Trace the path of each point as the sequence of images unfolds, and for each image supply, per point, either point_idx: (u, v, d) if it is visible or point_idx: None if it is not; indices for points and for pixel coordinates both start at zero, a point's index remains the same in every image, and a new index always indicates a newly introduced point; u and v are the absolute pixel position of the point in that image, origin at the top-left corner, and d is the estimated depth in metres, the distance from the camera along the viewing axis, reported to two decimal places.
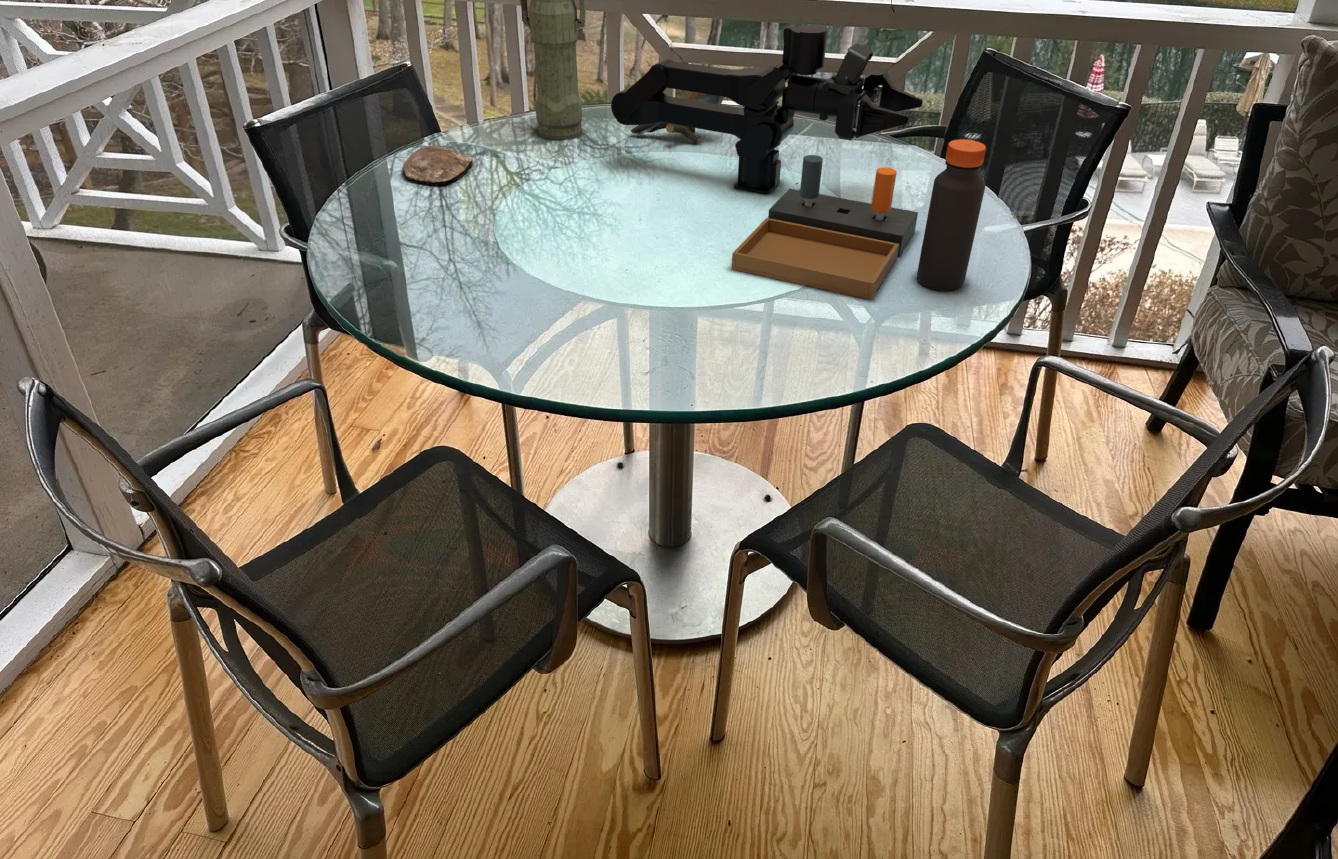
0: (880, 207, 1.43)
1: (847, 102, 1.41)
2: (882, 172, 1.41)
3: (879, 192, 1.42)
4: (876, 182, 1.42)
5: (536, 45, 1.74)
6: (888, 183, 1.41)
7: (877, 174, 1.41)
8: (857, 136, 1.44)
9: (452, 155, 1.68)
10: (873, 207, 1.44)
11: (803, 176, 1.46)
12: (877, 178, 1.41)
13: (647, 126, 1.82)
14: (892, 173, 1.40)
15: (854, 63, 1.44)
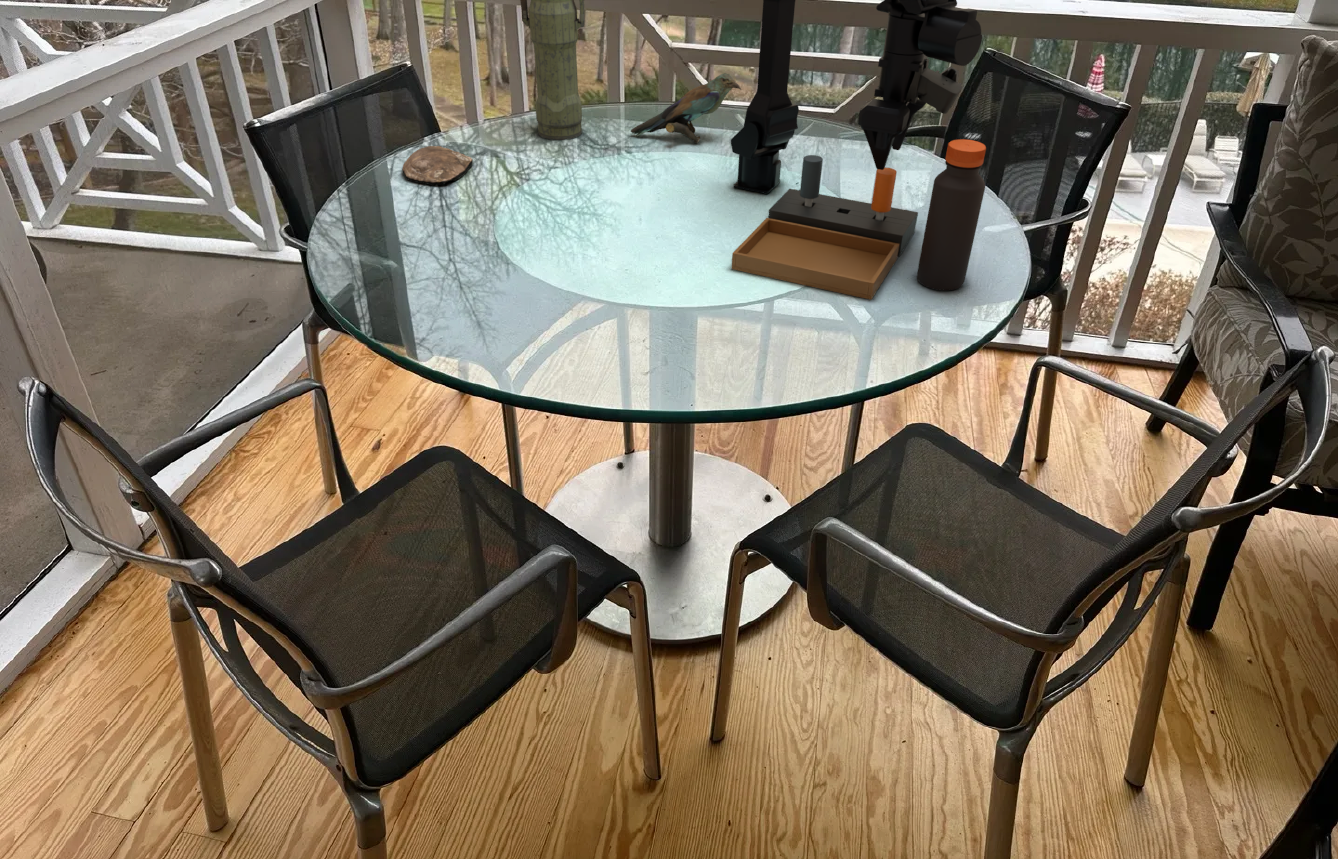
0: (880, 207, 1.43)
1: (898, 122, 1.27)
2: (882, 172, 1.41)
3: (879, 192, 1.42)
4: (876, 182, 1.42)
5: (536, 45, 1.74)
6: (888, 183, 1.41)
7: (877, 174, 1.41)
8: (862, 127, 1.31)
9: (452, 155, 1.68)
10: (873, 207, 1.44)
11: (803, 176, 1.46)
12: (877, 178, 1.41)
13: (647, 126, 1.82)
14: (892, 173, 1.40)
15: (940, 101, 1.30)
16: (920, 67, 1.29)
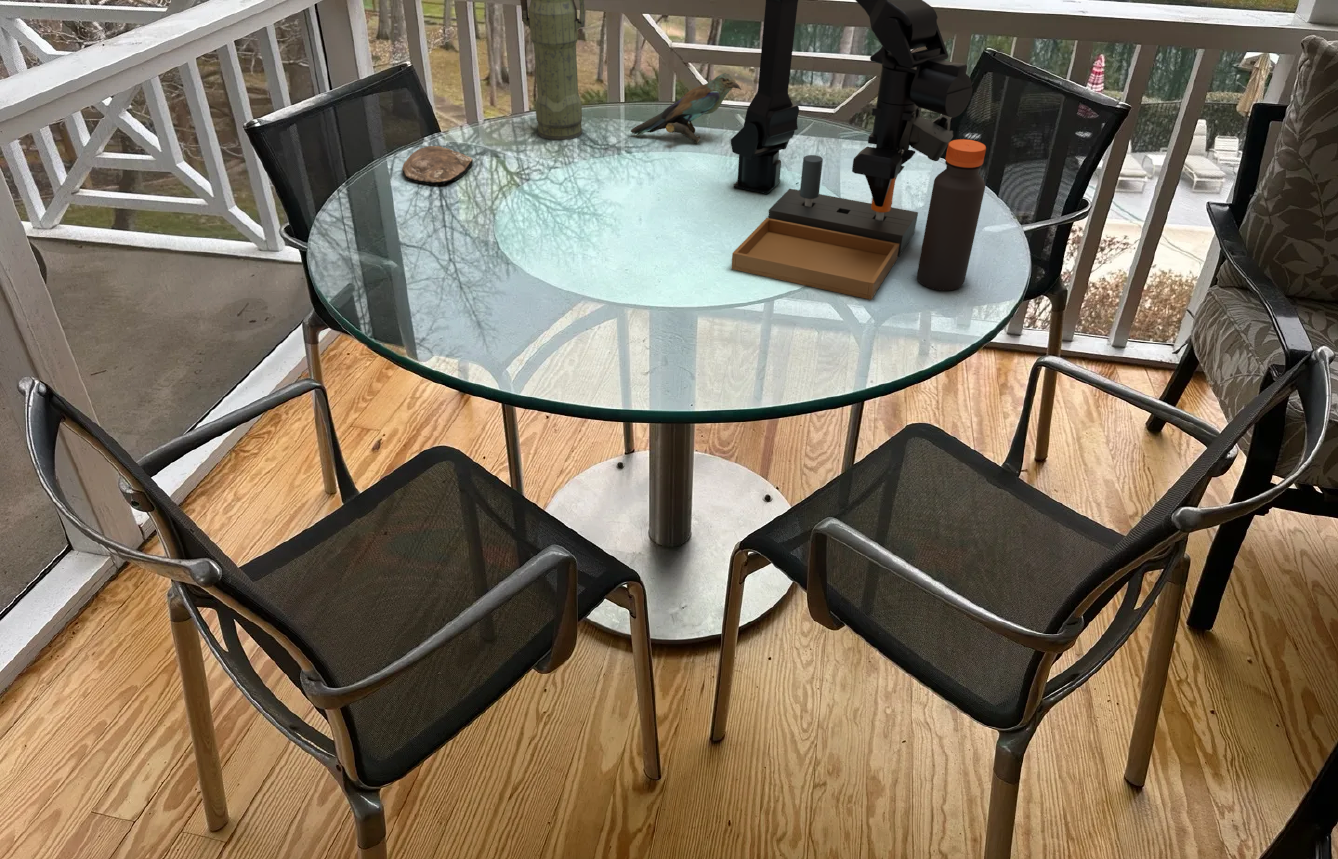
0: (880, 207, 1.43)
1: (891, 170, 1.31)
2: None
3: None
4: None
5: (536, 45, 1.74)
6: None
7: None
8: None
9: (452, 155, 1.68)
10: (873, 207, 1.44)
11: (803, 176, 1.46)
12: None
13: (647, 126, 1.82)
14: None
15: (931, 149, 1.34)
16: (912, 117, 1.33)
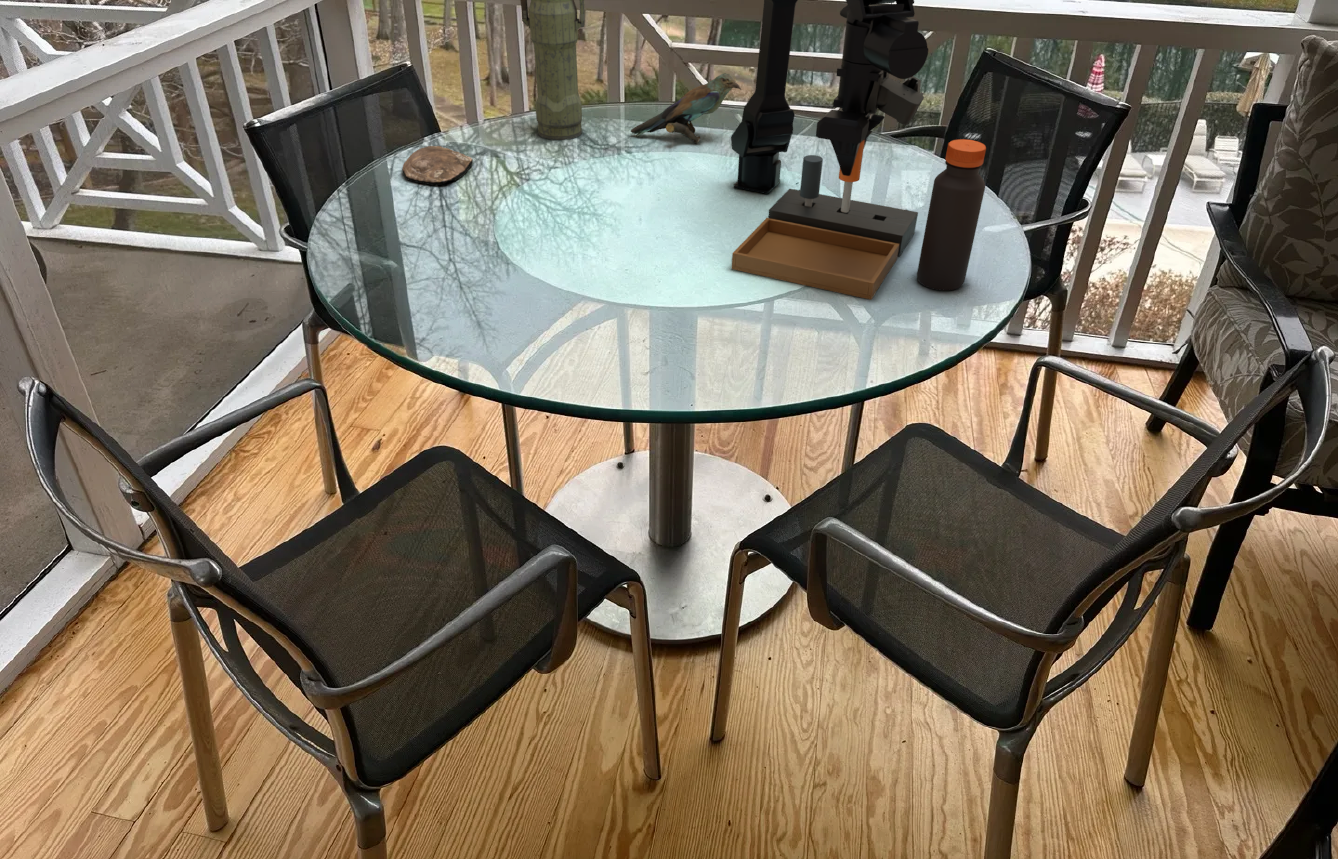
0: (848, 176, 1.34)
1: (857, 134, 1.22)
2: None
3: None
4: None
5: (536, 45, 1.74)
6: None
7: None
8: None
9: (452, 155, 1.68)
10: (840, 177, 1.35)
11: (803, 176, 1.46)
12: None
13: (647, 126, 1.82)
14: None
15: (900, 112, 1.25)
16: (879, 77, 1.24)
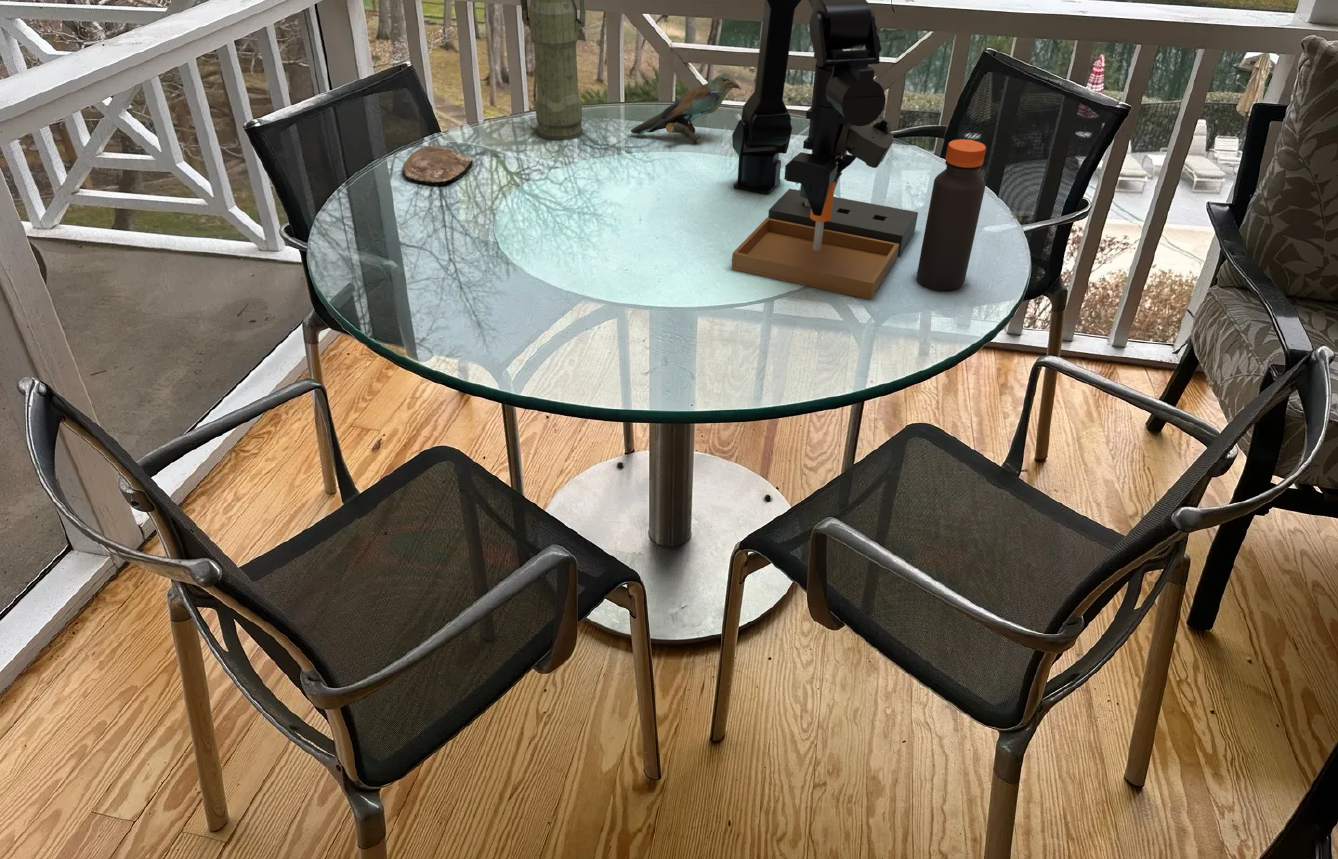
0: (819, 216, 1.34)
1: (825, 178, 1.22)
2: None
3: None
4: None
5: (536, 45, 1.74)
6: None
7: None
8: None
9: (452, 155, 1.68)
10: (812, 216, 1.35)
11: None
12: None
13: (647, 126, 1.82)
14: None
15: (869, 155, 1.25)
16: None
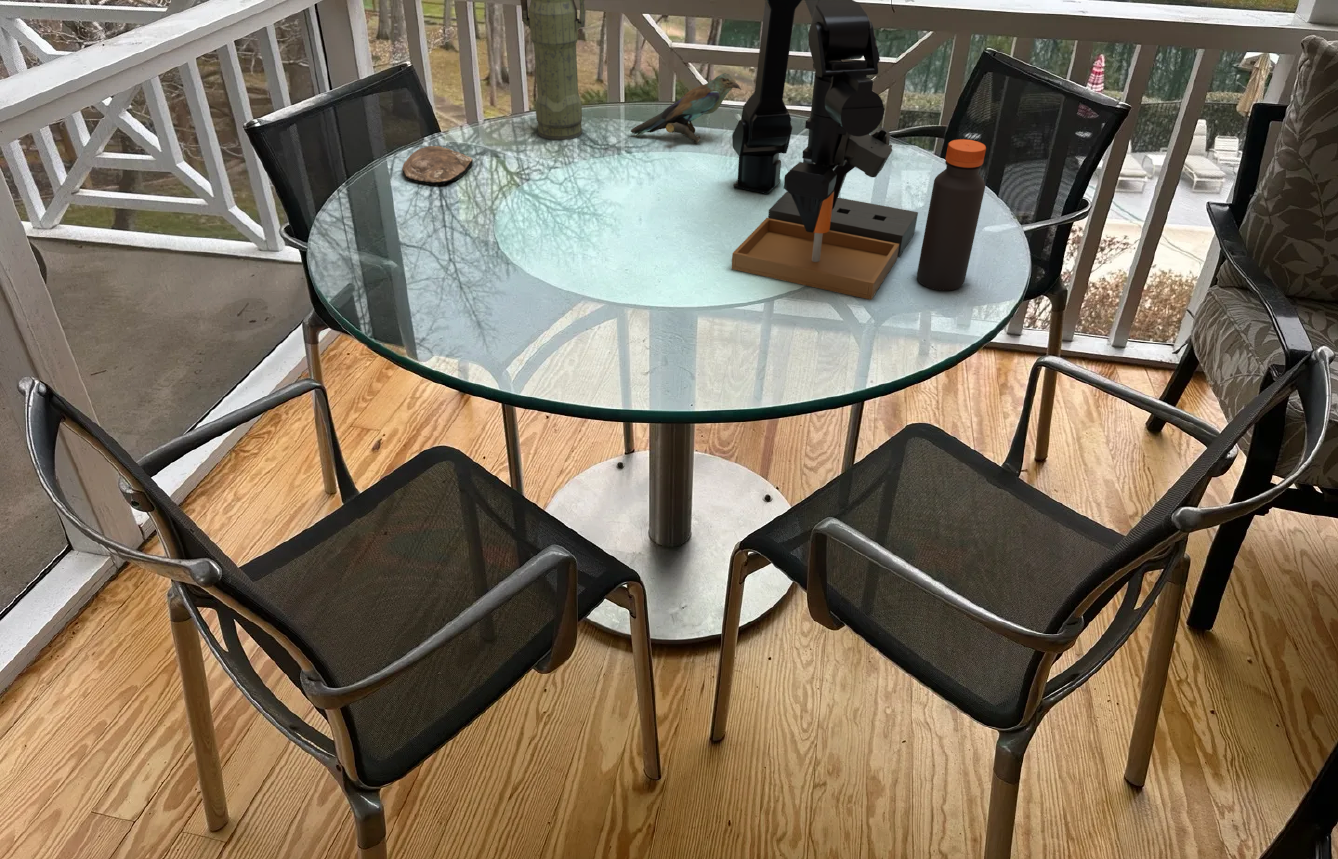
0: (818, 228, 1.35)
1: (824, 188, 1.23)
2: None
3: None
4: None
5: (536, 45, 1.74)
6: (825, 202, 1.33)
7: None
8: (788, 191, 1.27)
9: (452, 155, 1.68)
10: None
11: None
12: None
13: (647, 126, 1.82)
14: None
15: (868, 165, 1.26)
16: None
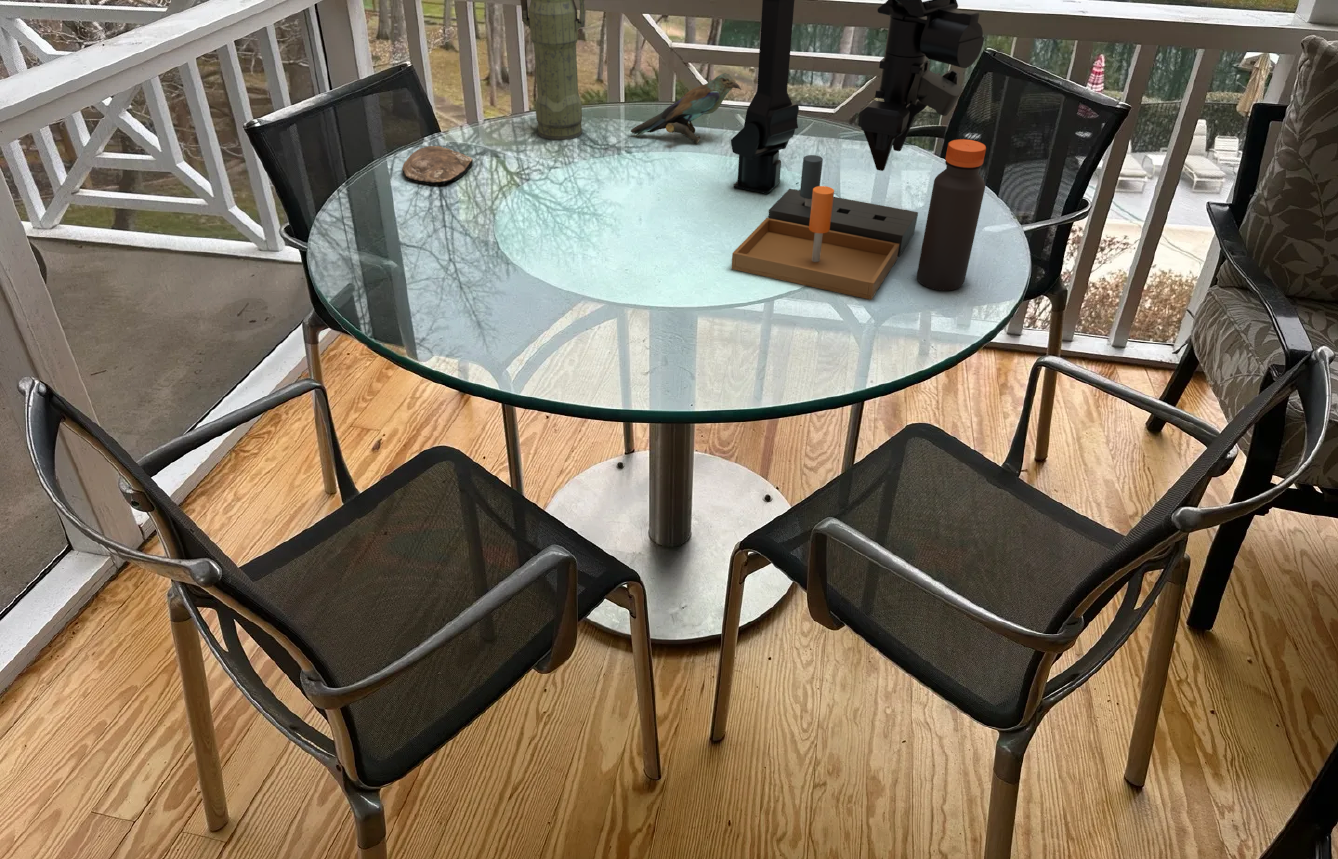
0: (818, 228, 1.35)
1: (898, 124, 1.28)
2: (818, 191, 1.33)
3: (816, 213, 1.34)
4: (813, 202, 1.34)
5: (536, 45, 1.74)
6: (825, 202, 1.33)
7: (813, 193, 1.33)
8: (862, 129, 1.32)
9: (452, 155, 1.68)
10: (810, 228, 1.36)
11: (803, 176, 1.46)
12: (813, 197, 1.33)
13: (647, 126, 1.82)
14: (829, 193, 1.32)
15: (940, 103, 1.31)
16: (920, 69, 1.30)
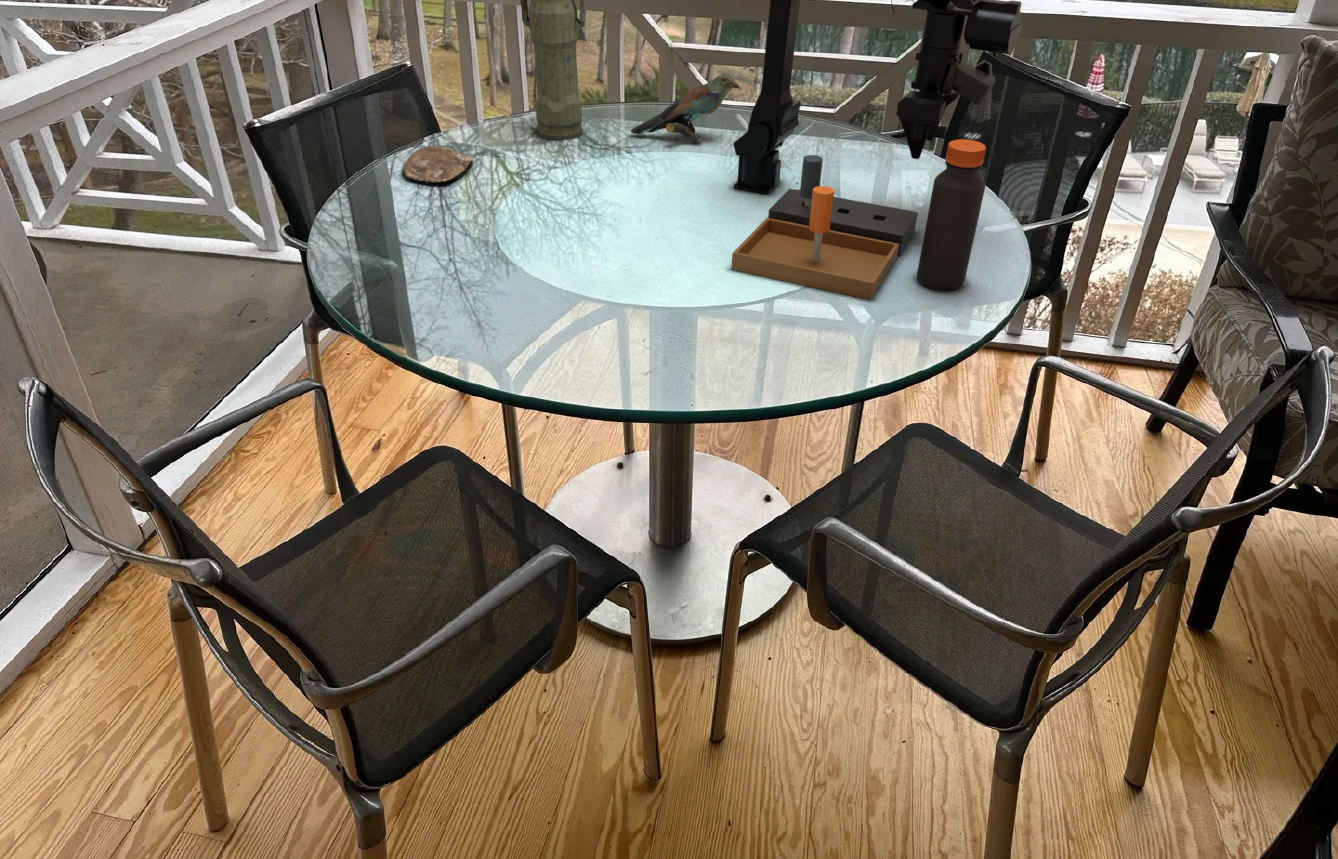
0: (818, 228, 1.35)
1: (936, 113, 1.33)
2: (818, 191, 1.33)
3: (816, 213, 1.34)
4: (813, 202, 1.34)
5: (536, 45, 1.74)
6: (825, 202, 1.33)
7: (813, 193, 1.33)
8: (899, 118, 1.37)
9: (452, 155, 1.68)
10: (810, 228, 1.36)
11: (803, 176, 1.46)
12: (813, 197, 1.33)
13: (647, 126, 1.82)
14: (829, 193, 1.32)
15: (974, 93, 1.36)
16: (956, 60, 1.35)
